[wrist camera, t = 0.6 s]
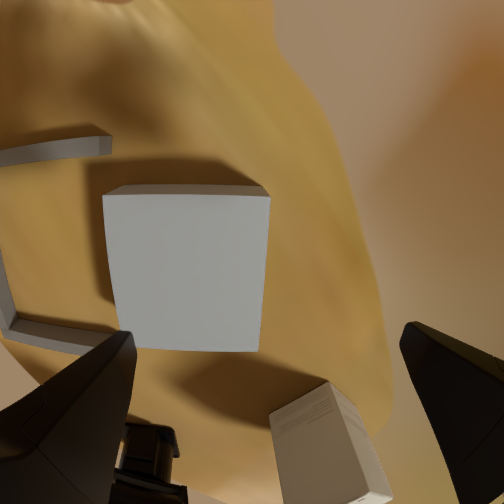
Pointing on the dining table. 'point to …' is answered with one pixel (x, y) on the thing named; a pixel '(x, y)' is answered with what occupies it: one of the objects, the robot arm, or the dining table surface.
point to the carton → (188, 264)
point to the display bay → (3, 309)
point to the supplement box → (326, 452)
